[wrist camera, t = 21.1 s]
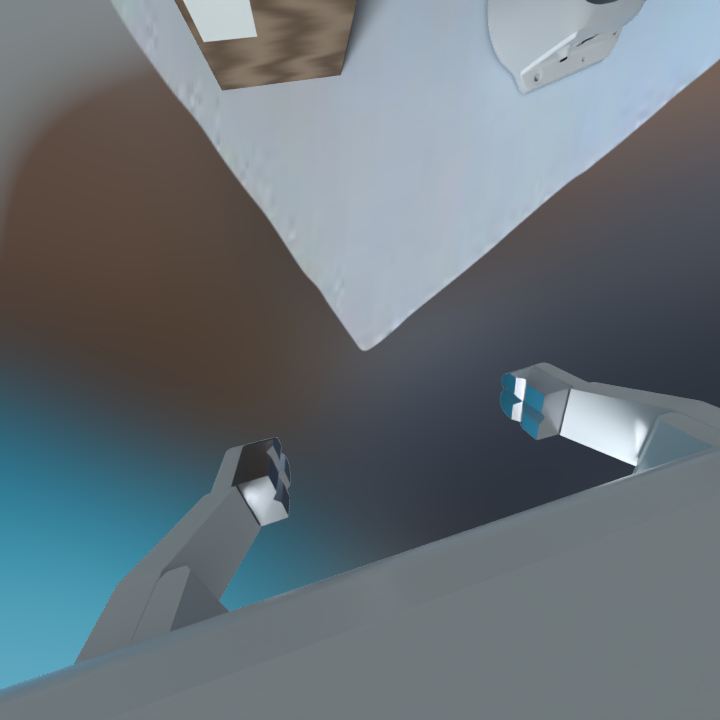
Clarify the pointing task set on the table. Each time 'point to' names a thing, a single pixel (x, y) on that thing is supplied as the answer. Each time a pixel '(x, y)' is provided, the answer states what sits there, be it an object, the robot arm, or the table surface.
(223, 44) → the brown tall rectangular block
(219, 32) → the bar
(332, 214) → the table surface
